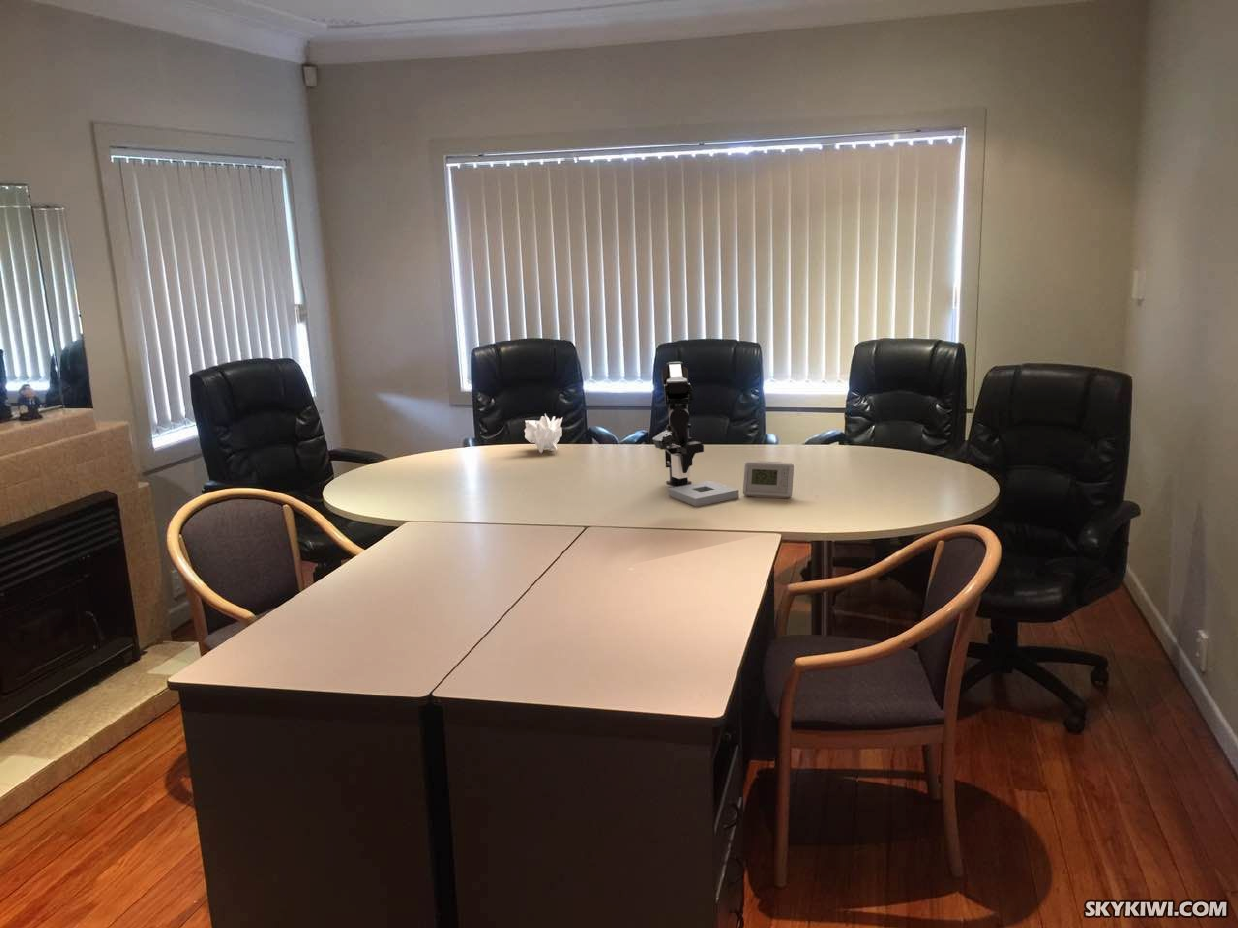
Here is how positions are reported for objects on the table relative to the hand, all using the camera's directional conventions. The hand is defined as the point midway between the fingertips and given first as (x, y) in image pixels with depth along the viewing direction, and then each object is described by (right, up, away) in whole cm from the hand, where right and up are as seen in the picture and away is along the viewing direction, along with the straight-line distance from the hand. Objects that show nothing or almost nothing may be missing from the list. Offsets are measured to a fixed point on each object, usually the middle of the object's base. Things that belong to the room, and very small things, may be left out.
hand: (680, 471), depth 313 cm
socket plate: (+8, -8, +15) cm, 19 cm away
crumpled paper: (-49, +7, +95) cm, 108 cm away
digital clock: (+29, -8, +12) cm, 32 cm away
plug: (0, -2, 0) cm, 2 cm away
